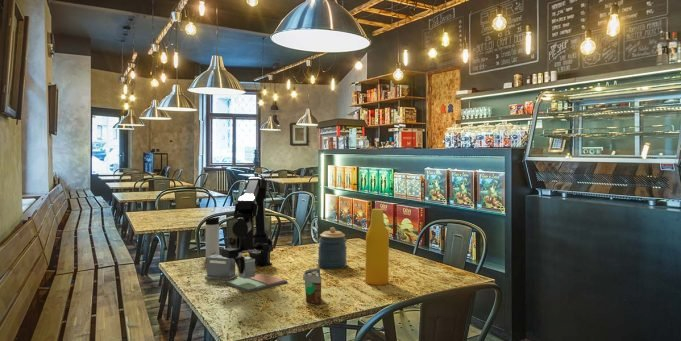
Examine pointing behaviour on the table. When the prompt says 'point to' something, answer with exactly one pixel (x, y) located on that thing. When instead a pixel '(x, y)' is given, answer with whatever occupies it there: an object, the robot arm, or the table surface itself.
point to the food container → (313, 286)
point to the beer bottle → (377, 250)
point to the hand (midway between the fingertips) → (246, 272)
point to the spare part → (248, 268)
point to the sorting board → (255, 282)
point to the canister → (332, 250)
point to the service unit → (220, 268)
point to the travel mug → (212, 236)
